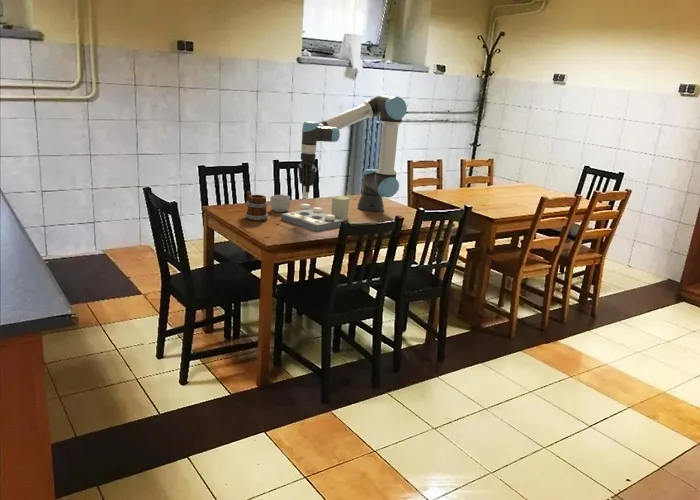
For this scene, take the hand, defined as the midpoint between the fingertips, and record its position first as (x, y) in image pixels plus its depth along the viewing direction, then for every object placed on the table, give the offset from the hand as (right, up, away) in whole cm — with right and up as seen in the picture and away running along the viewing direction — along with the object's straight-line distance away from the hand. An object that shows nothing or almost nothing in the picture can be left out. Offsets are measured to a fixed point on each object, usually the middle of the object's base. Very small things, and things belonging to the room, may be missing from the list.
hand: (305, 198), depth 309 cm
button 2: (+13, -12, -9) cm, 20 cm away
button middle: (+7, -8, -4) cm, 11 cm away
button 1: (0, -5, +2) cm, 6 cm away
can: (+18, -11, +7) cm, 22 cm away
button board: (+4, -13, -4) cm, 14 cm away
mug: (-26, -11, -5) cm, 28 cm away
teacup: (-15, -6, +15) cm, 22 cm away
